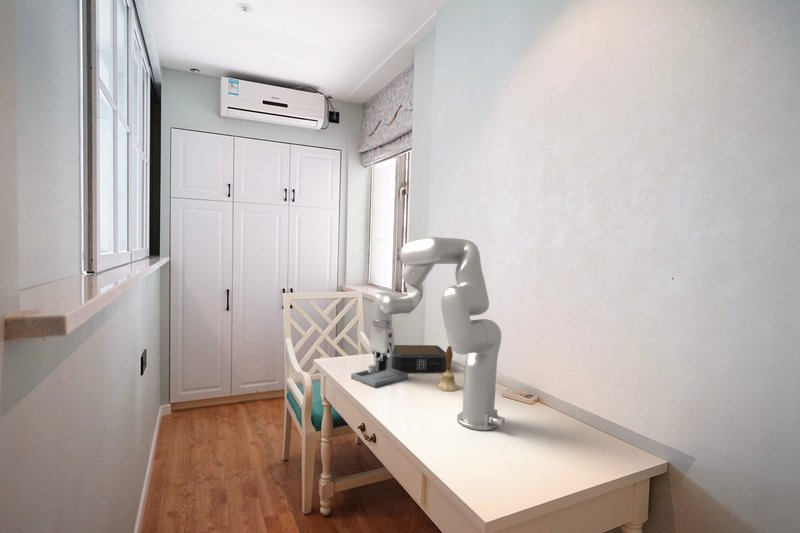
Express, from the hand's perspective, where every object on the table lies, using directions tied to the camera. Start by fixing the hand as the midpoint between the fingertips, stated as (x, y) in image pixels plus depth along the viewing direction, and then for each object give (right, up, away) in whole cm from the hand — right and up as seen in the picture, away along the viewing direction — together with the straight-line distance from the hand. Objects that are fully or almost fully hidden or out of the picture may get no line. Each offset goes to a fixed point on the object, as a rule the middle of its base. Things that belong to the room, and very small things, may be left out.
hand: (380, 369), depth 166 cm
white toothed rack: (0, -1, 0) cm, 1 cm away
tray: (0, -4, 0) cm, 4 cm away
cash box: (+15, -4, +20) cm, 25 cm away
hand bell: (+26, -6, -8) cm, 28 cm away
